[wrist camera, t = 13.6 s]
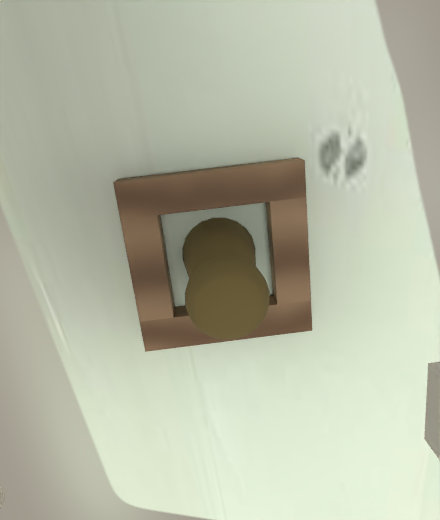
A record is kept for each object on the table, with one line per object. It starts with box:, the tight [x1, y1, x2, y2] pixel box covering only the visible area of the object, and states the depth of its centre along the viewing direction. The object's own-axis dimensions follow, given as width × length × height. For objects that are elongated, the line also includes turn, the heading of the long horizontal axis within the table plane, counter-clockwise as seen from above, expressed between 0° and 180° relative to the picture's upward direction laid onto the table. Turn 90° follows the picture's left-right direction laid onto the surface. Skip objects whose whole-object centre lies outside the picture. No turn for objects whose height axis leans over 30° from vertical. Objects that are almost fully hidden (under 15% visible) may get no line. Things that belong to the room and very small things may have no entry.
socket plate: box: [114, 158, 312, 352], centre depth 34 cm, size 14×14×2 cm
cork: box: [183, 218, 269, 340], centre depth 30 cm, size 6×6×11 cm
